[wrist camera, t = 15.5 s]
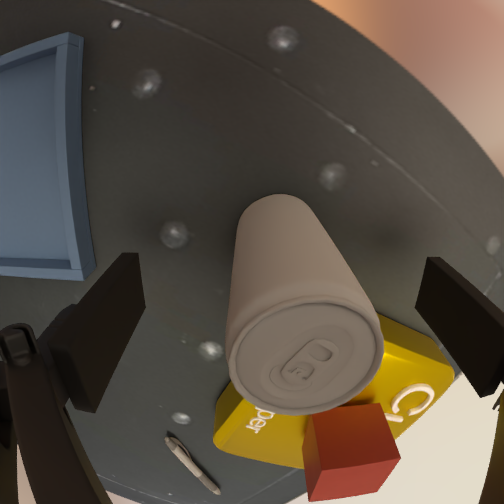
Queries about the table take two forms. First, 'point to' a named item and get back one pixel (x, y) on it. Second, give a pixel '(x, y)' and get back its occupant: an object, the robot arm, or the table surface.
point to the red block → (348, 452)
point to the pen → (190, 463)
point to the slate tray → (43, 162)
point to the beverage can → (296, 314)
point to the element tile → (377, 391)
